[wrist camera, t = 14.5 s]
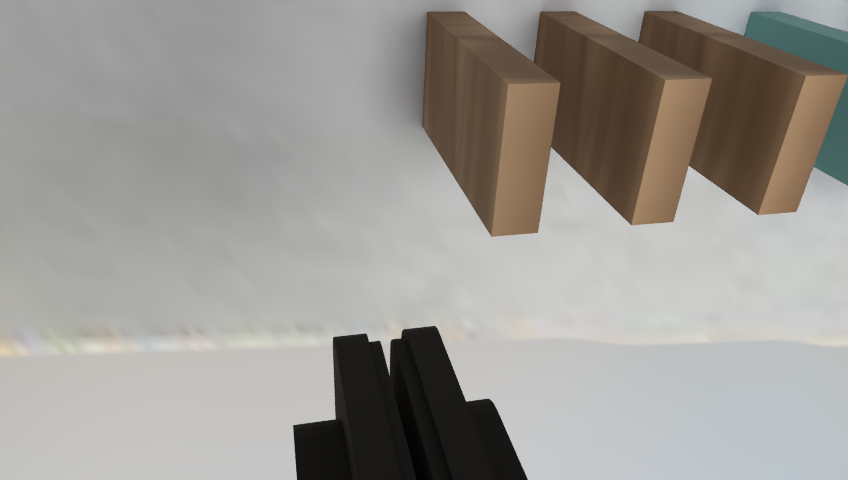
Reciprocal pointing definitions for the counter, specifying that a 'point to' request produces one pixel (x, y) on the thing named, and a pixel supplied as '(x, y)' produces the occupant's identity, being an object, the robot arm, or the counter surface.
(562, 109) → the domino
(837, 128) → the domino
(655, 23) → the domino
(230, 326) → the counter surface
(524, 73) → the domino
